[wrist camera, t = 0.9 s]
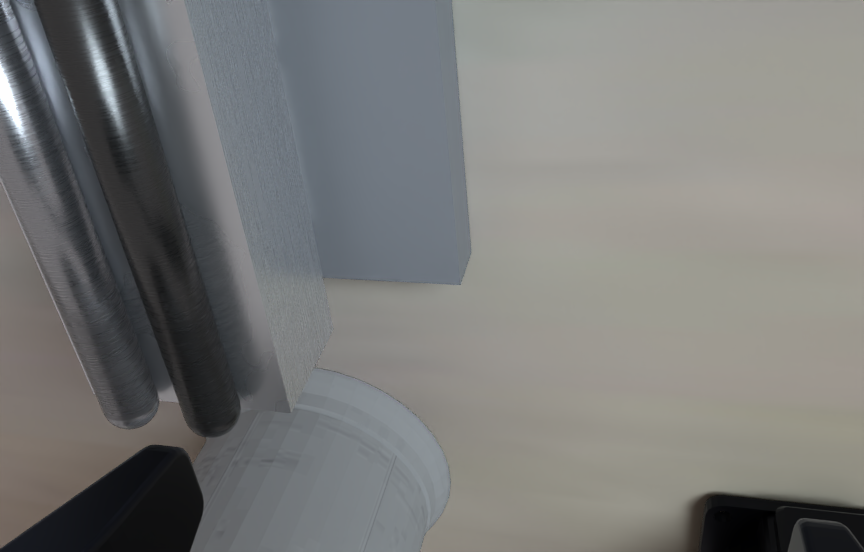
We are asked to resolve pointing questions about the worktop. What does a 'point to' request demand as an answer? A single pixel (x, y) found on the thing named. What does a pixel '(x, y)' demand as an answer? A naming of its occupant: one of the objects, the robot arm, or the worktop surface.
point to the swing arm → (164, 202)
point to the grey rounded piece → (322, 475)
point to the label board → (378, 135)
